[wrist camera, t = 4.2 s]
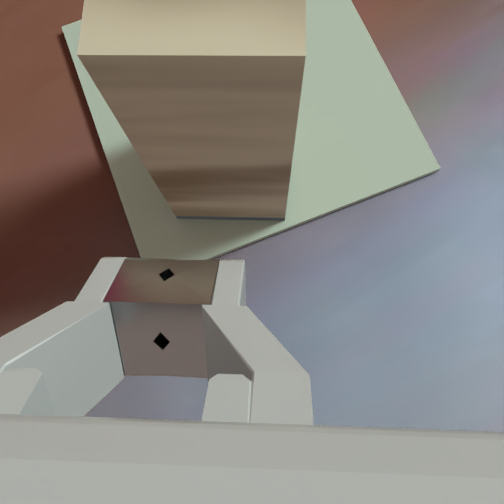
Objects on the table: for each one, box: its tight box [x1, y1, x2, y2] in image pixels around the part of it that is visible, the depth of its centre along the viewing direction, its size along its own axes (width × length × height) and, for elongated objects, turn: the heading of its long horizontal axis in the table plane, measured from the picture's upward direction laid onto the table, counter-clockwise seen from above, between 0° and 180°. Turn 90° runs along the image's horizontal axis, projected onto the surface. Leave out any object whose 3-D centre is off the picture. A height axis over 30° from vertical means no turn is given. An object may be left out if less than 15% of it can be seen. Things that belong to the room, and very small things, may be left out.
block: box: [77, 0, 306, 221], centre depth 18 cm, size 6×6×13 cm
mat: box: [62, 0, 440, 260], centre depth 26 cm, size 16×16×1 cm
